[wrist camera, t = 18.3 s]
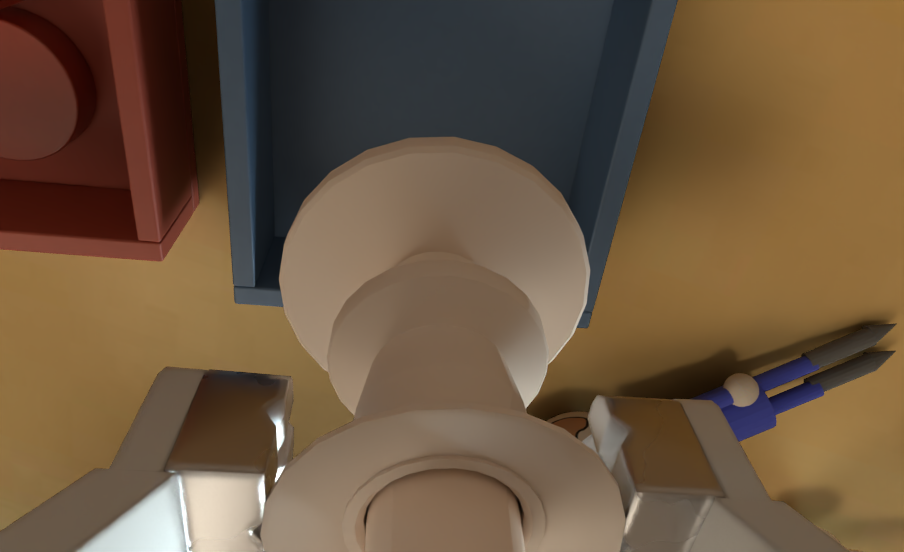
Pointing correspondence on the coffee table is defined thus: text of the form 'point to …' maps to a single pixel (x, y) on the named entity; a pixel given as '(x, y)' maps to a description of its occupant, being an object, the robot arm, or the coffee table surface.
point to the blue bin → (429, 102)
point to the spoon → (40, 87)
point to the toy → (747, 394)
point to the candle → (438, 360)
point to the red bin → (112, 141)
